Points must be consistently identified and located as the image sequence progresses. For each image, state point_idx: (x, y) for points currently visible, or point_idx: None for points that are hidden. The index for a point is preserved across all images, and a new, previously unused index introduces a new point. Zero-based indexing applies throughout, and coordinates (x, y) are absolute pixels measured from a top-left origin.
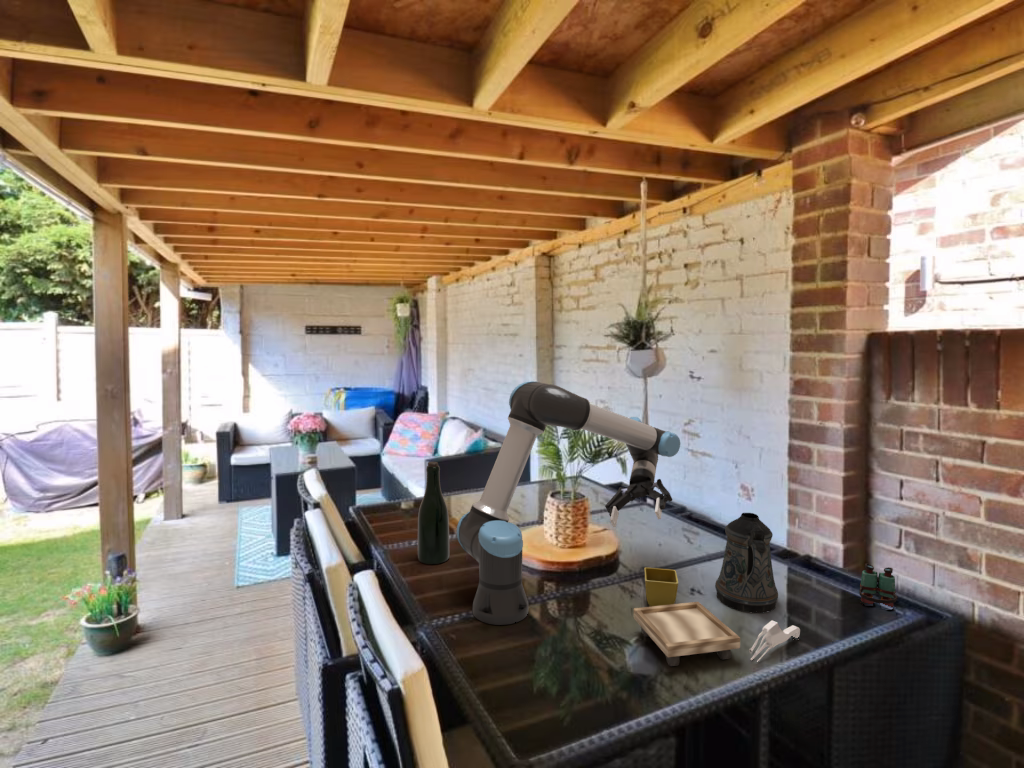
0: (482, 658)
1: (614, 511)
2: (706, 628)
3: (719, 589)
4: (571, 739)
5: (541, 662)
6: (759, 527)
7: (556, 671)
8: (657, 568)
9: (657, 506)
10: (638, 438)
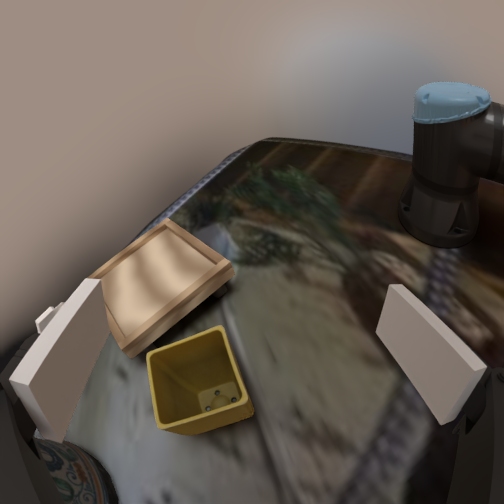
0: (362, 164)
1: (436, 334)
2: (120, 289)
3: (95, 472)
4: (237, 158)
5: (311, 185)
6: None
7: (289, 185)
8: (208, 413)
9: (67, 305)
10: None
